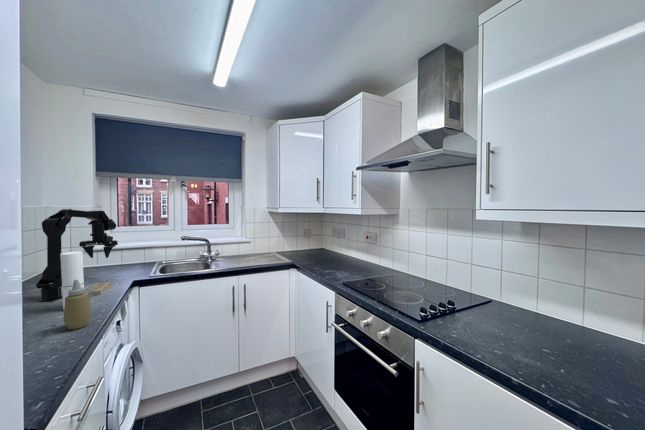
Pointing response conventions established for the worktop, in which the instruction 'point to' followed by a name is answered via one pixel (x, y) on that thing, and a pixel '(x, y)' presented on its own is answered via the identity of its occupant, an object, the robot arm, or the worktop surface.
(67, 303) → the squeeze bottle
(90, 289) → the clip
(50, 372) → the worktop surface
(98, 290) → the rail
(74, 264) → the cylindrical container
